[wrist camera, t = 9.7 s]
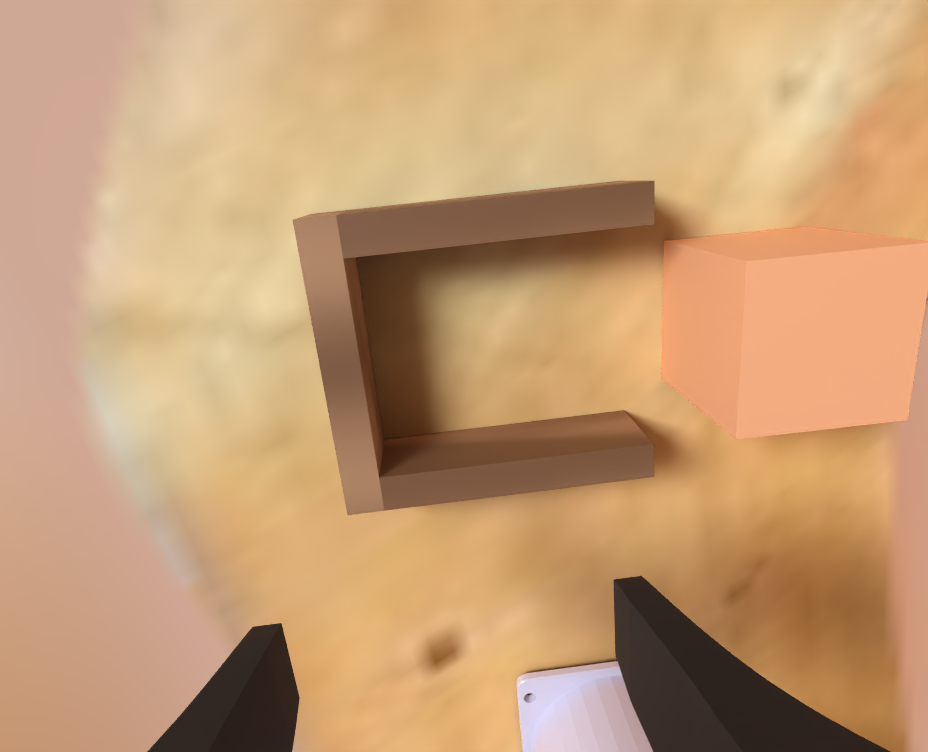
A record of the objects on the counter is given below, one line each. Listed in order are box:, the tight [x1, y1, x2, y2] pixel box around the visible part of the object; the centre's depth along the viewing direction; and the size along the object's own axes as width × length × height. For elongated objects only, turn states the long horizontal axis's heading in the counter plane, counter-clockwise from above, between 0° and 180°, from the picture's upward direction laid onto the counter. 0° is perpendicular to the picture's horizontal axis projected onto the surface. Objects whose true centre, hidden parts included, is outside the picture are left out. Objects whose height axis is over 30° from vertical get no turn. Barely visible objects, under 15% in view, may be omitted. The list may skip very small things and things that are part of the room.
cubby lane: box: [293, 181, 654, 515], centre depth 20 cm, size 9×10×3 cm
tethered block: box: [662, 227, 928, 439], centre depth 19 cm, size 5×14×6 cm, turn 95°
